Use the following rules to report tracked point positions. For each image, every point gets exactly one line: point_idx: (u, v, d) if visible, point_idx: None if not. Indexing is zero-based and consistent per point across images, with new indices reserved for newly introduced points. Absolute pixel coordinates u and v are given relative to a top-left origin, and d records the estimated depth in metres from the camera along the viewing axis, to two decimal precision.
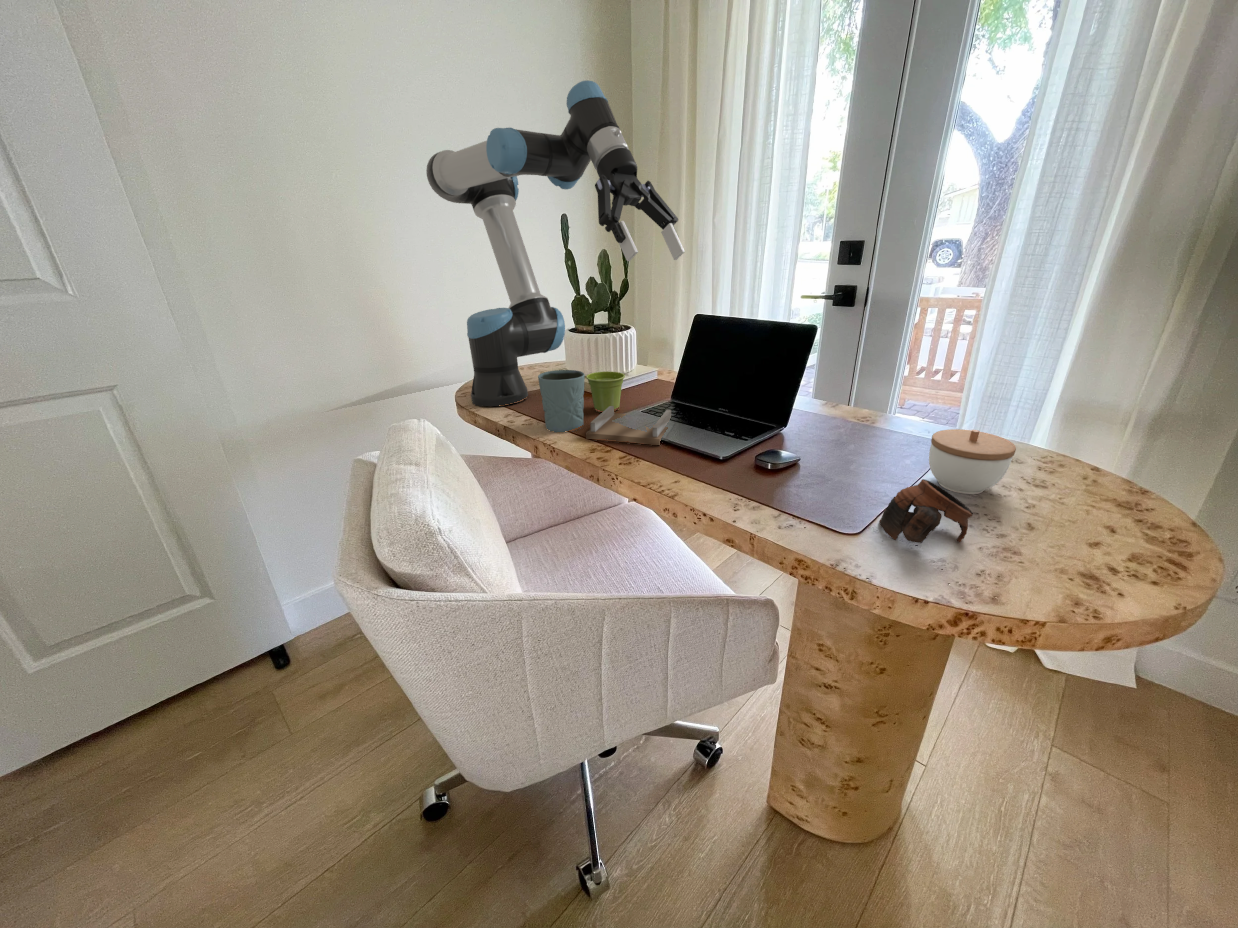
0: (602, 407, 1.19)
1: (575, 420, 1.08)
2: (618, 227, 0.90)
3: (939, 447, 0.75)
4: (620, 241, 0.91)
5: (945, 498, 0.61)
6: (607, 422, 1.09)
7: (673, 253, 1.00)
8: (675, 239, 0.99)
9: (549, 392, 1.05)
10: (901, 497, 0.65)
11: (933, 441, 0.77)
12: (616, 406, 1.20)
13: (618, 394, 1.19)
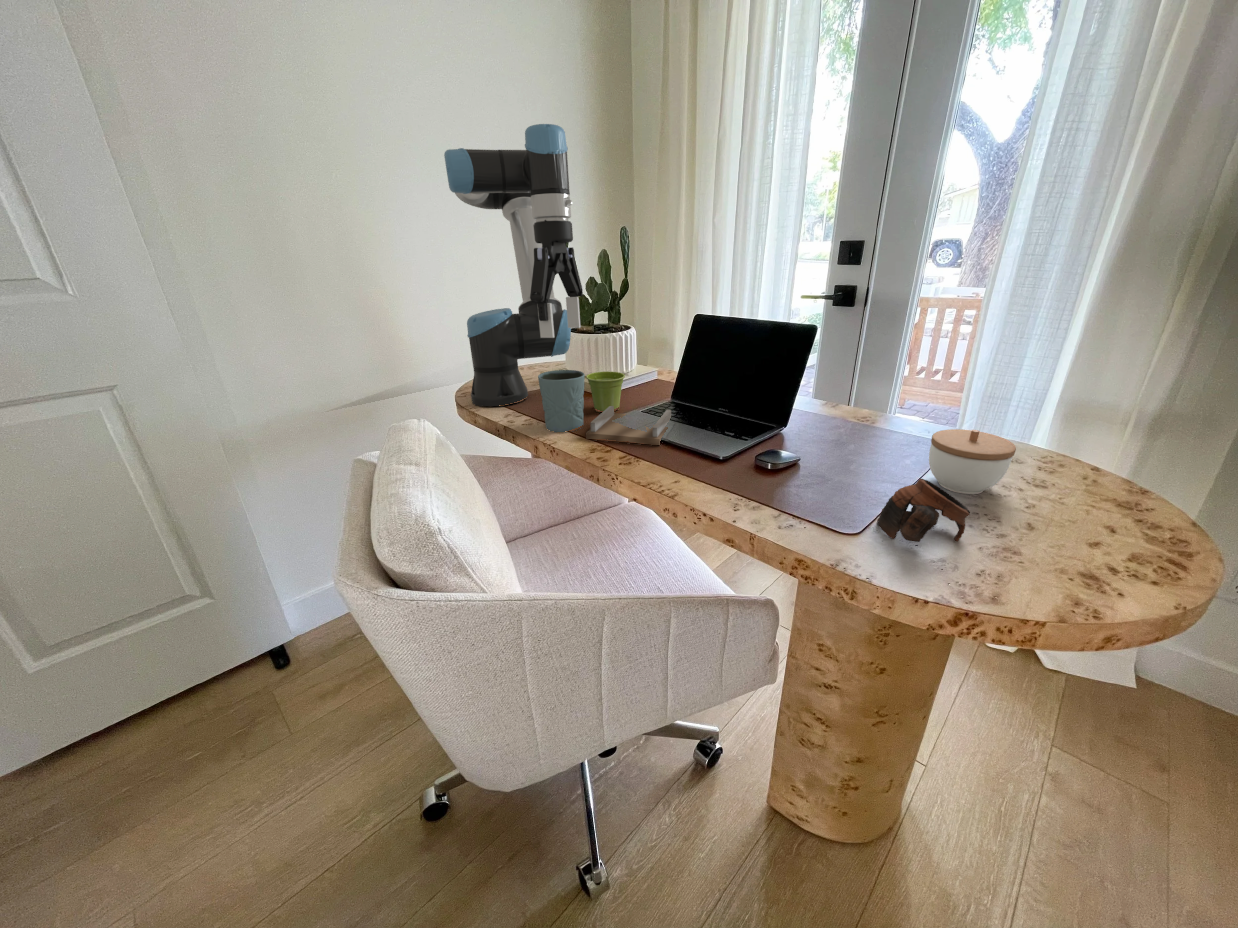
0: (602, 407, 1.19)
1: (575, 420, 1.08)
2: (545, 309, 0.94)
3: (939, 447, 0.75)
4: (542, 320, 0.96)
5: (942, 497, 0.62)
6: (607, 422, 1.09)
7: (570, 322, 1.09)
8: (576, 313, 1.08)
9: (549, 392, 1.05)
10: (899, 496, 0.65)
11: (933, 441, 0.77)
12: (616, 406, 1.20)
13: (618, 394, 1.19)
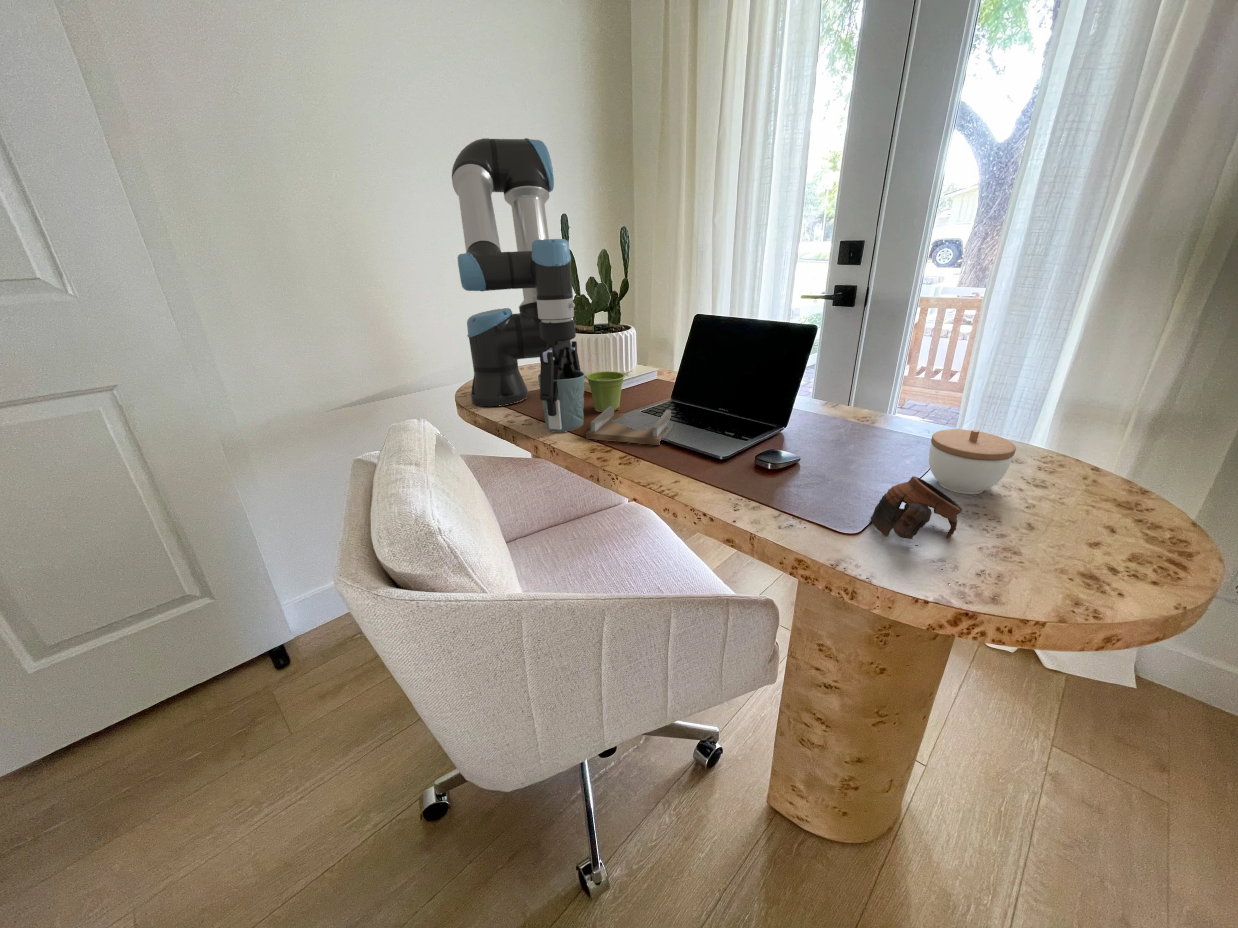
0: (602, 407, 1.19)
1: (575, 420, 1.08)
2: (554, 405, 1.04)
3: (939, 447, 0.75)
4: None
5: (935, 495, 0.62)
6: (607, 422, 1.09)
7: None
8: None
9: None
10: (892, 494, 0.66)
11: (933, 441, 0.77)
12: (616, 406, 1.20)
13: (618, 394, 1.19)
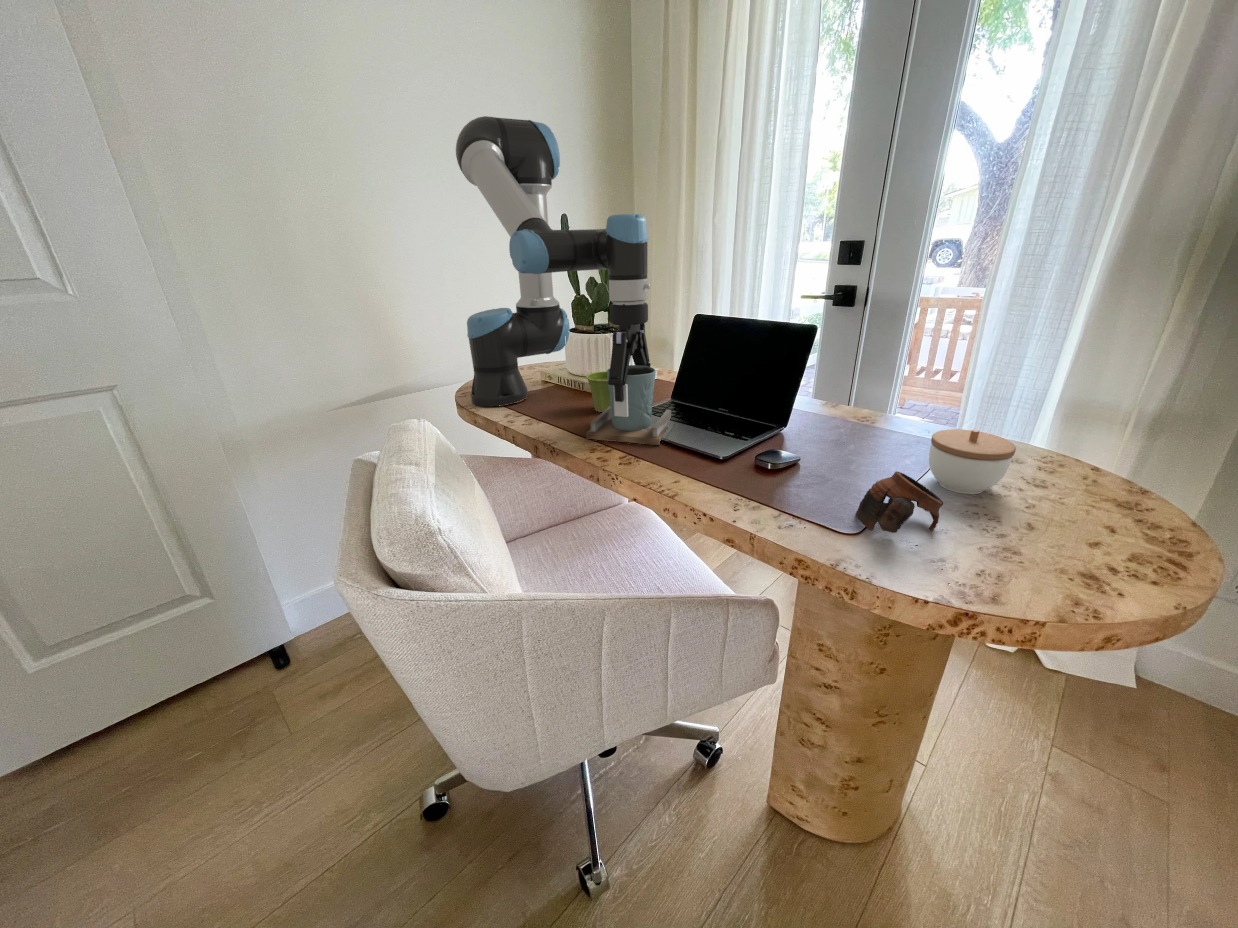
0: (602, 407, 1.19)
1: (645, 418, 1.03)
2: (622, 390, 0.95)
3: (939, 447, 0.75)
4: None
5: (917, 489, 0.64)
6: (607, 422, 1.09)
7: None
8: None
9: None
10: (876, 489, 0.68)
11: (933, 441, 0.77)
12: None
13: None
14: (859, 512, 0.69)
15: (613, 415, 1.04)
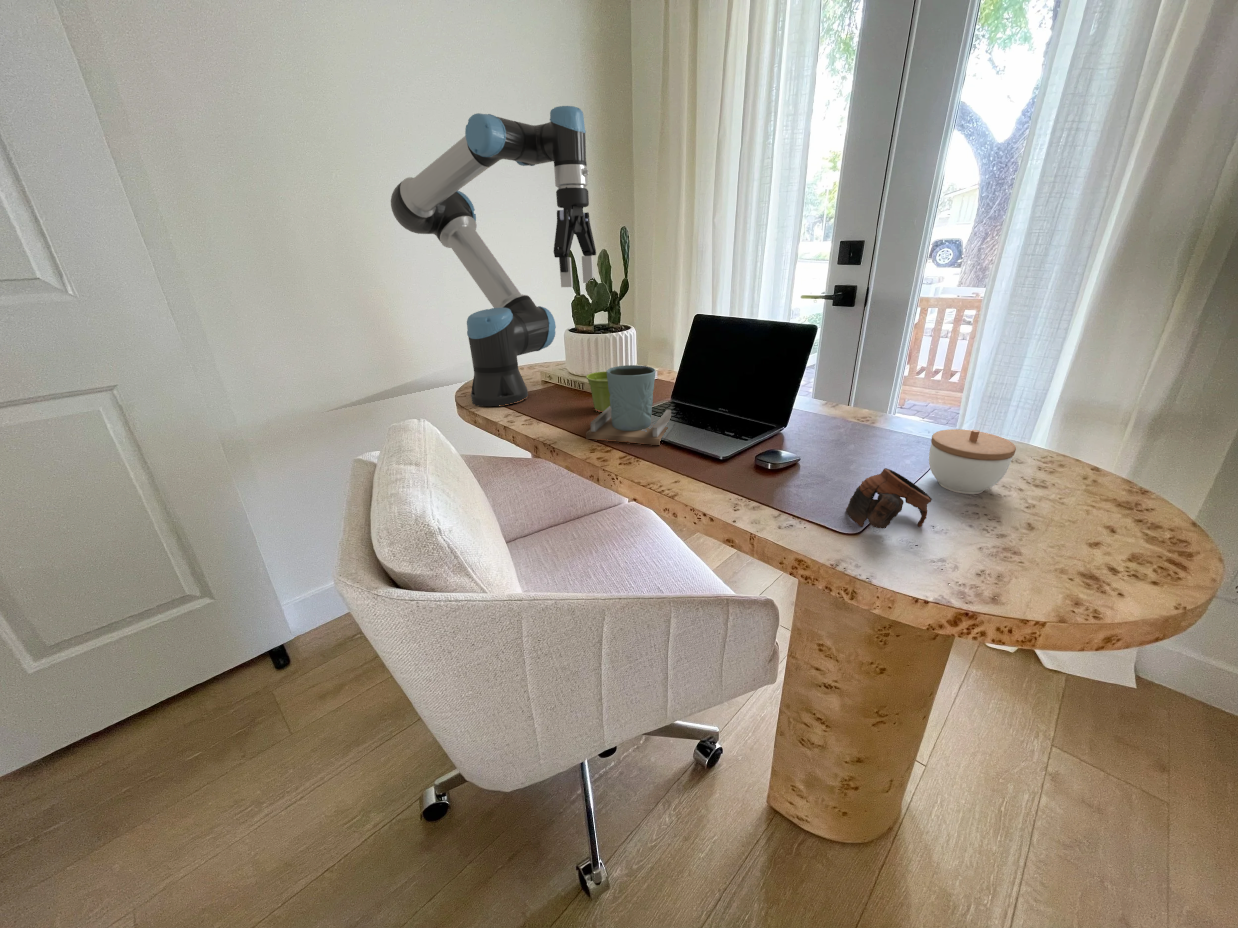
0: (602, 407, 1.19)
1: (645, 418, 1.03)
2: (566, 262, 1.13)
3: (939, 447, 0.75)
4: (563, 272, 1.15)
5: (906, 485, 0.65)
6: (607, 422, 1.09)
7: (584, 278, 1.28)
8: (590, 270, 1.27)
9: (620, 388, 0.99)
10: (866, 486, 0.69)
11: (933, 441, 0.77)
12: None
13: None
14: (849, 509, 0.70)
15: (613, 415, 1.04)
